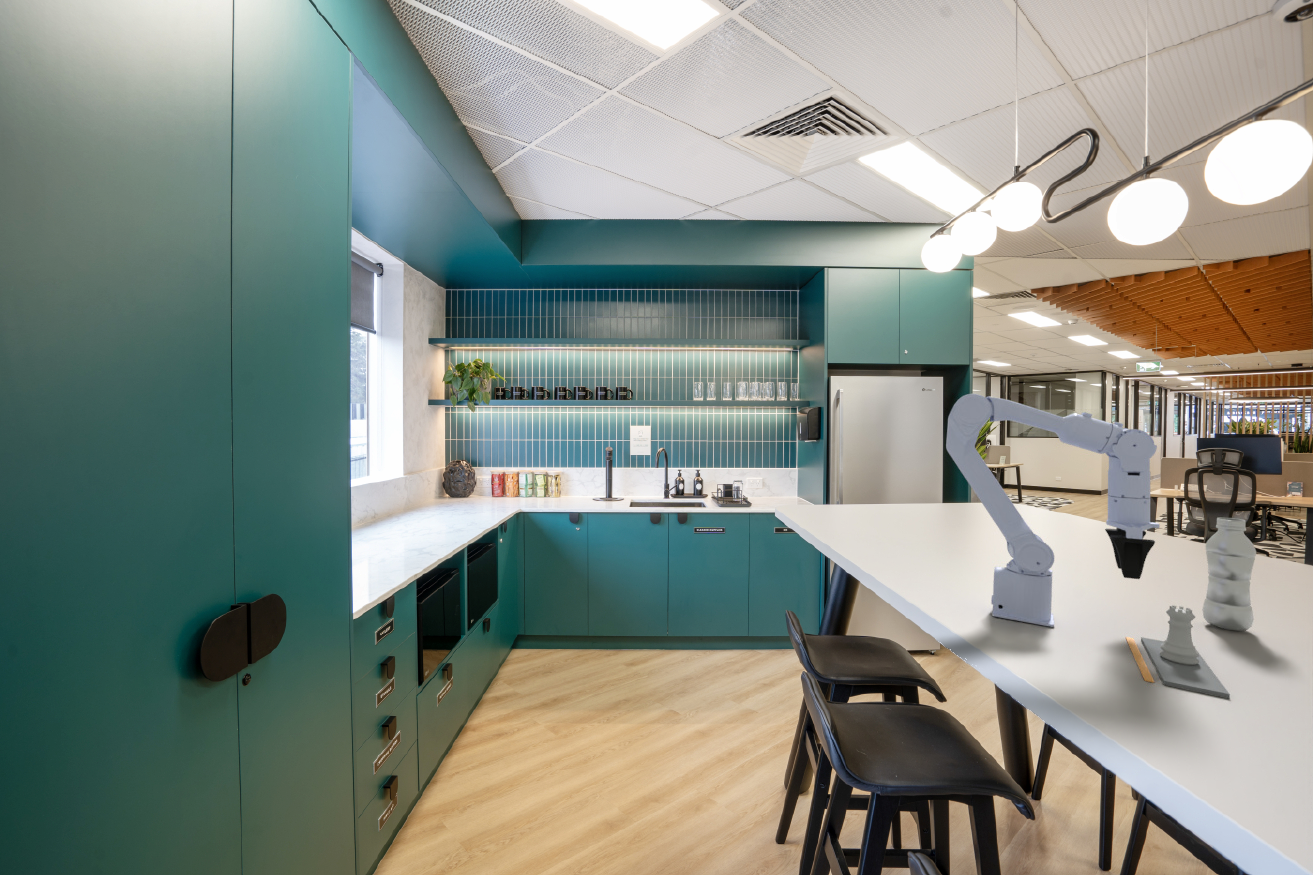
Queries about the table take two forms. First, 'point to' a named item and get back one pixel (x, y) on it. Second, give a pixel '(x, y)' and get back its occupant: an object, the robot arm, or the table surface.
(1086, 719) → the table surface
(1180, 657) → the rook chess piece
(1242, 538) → the plastic bottle
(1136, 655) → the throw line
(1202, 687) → the mat
